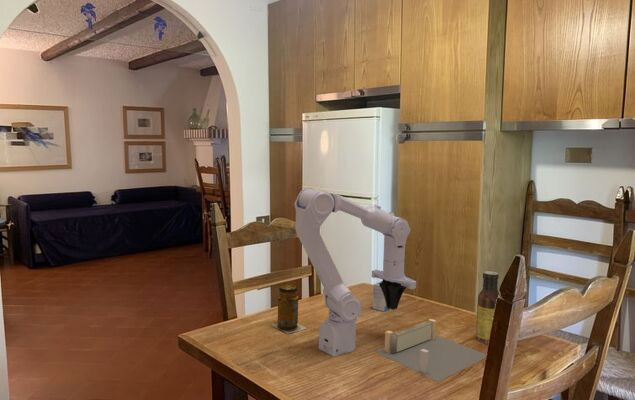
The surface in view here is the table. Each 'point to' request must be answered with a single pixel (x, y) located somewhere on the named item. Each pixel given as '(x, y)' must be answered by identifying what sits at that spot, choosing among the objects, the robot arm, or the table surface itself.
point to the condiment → (288, 310)
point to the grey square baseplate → (433, 355)
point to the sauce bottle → (486, 305)
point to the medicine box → (378, 298)
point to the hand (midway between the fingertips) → (392, 308)
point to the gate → (411, 337)
